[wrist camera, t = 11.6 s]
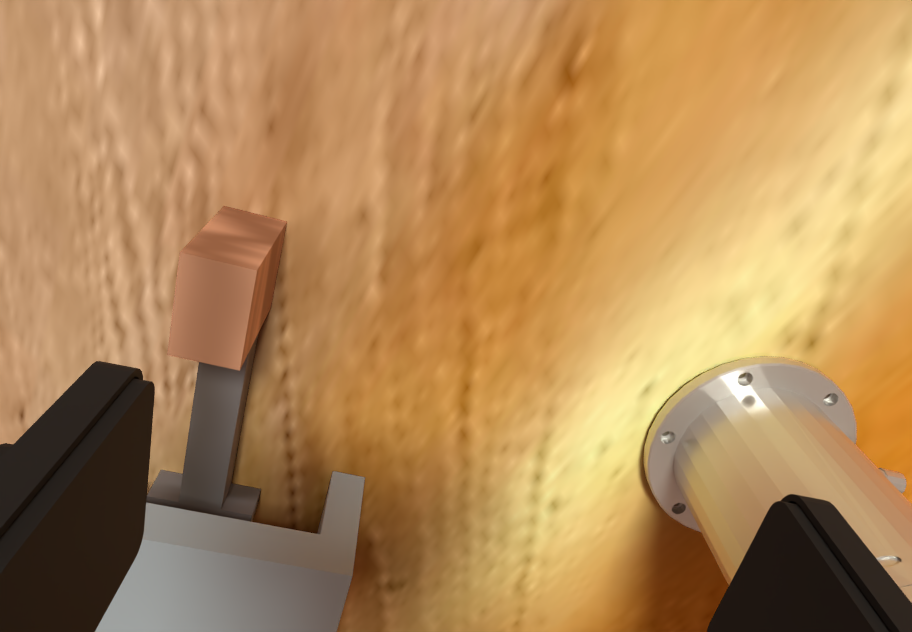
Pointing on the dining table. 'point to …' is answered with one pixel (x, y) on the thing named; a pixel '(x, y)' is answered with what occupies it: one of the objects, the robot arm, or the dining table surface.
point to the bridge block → (240, 571)
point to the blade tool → (220, 354)
